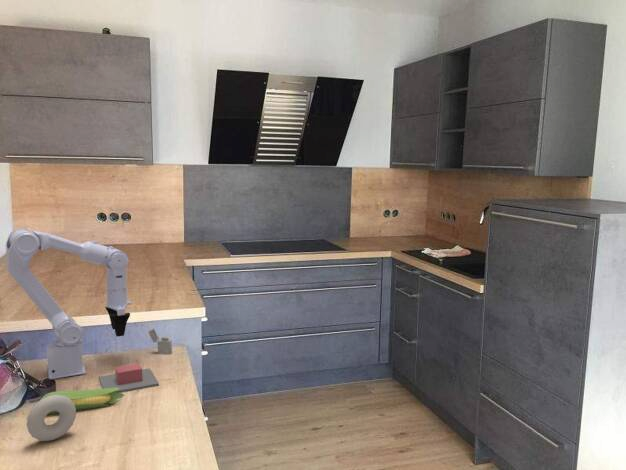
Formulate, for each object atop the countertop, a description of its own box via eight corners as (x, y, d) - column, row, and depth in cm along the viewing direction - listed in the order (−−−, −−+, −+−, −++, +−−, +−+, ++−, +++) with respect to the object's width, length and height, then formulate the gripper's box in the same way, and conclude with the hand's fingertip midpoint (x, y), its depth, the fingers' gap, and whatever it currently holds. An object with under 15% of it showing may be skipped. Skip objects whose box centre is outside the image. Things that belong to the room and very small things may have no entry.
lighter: (171, 352, 167) (171, 328, 166) (170, 354, 165) (169, 330, 164) (150, 351, 167) (149, 328, 166) (148, 353, 166) (148, 329, 165)
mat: (104, 395, 135) (104, 393, 135) (99, 378, 145) (99, 376, 145) (158, 385, 142) (158, 383, 142) (149, 370, 152) (149, 368, 152)
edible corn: (38, 392, 127) (36, 394, 123) (124, 384, 134) (125, 386, 130) (38, 414, 126) (35, 417, 122) (124, 405, 133) (125, 407, 129)
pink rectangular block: (142, 380, 143) (142, 368, 143) (118, 385, 140) (117, 372, 140) (139, 375, 147) (138, 363, 147) (115, 379, 144) (115, 367, 143)
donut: (73, 428, 118) (71, 387, 117) (79, 434, 115) (77, 392, 114) (25, 444, 111) (23, 400, 110) (30, 450, 108) (28, 405, 107)
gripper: (135, 292, 151) (136, 337, 153) (126, 282, 164) (127, 324, 165) (109, 295, 148) (111, 340, 149) (102, 284, 160) (104, 326, 162)
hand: (118, 332), depth 157 cm, fingers open, 7 cm apart
